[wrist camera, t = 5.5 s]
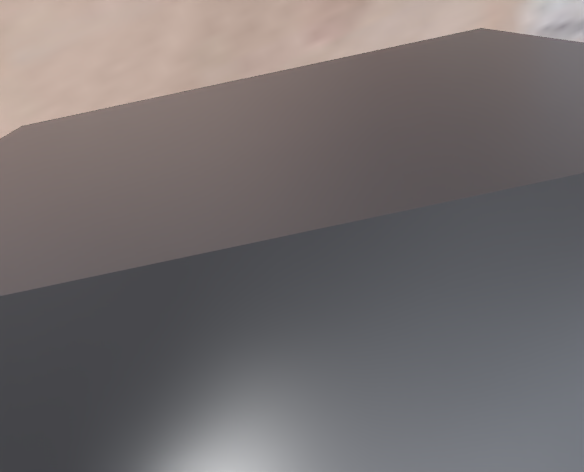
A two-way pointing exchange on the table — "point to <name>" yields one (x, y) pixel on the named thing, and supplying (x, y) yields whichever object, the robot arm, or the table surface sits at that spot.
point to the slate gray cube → (305, 270)
